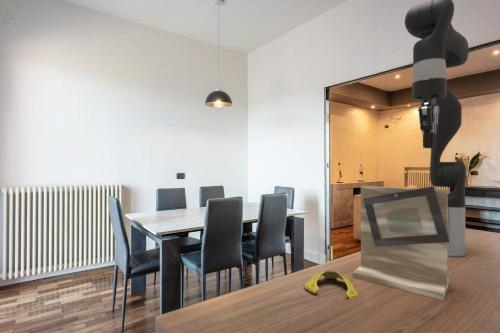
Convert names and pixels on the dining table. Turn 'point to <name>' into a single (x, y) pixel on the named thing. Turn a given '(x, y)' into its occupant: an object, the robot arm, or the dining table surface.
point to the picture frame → (406, 218)
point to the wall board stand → (404, 255)
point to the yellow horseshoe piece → (312, 282)
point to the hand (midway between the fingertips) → (428, 147)
